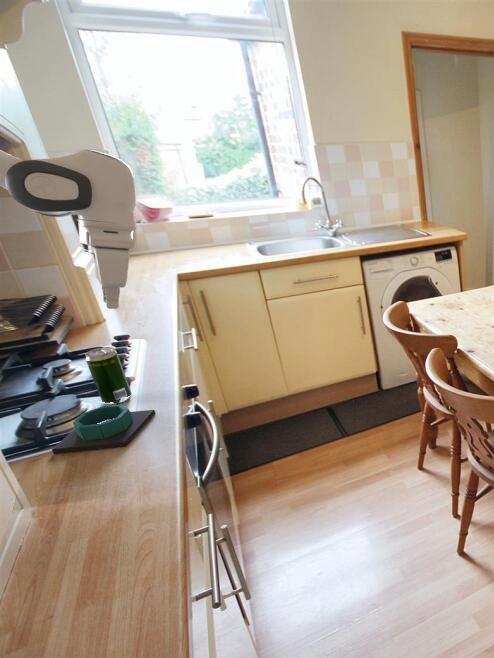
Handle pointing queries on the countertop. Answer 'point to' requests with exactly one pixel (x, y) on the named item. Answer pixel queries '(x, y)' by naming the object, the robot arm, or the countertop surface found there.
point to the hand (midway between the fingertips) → (110, 305)
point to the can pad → (107, 442)
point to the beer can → (108, 374)
